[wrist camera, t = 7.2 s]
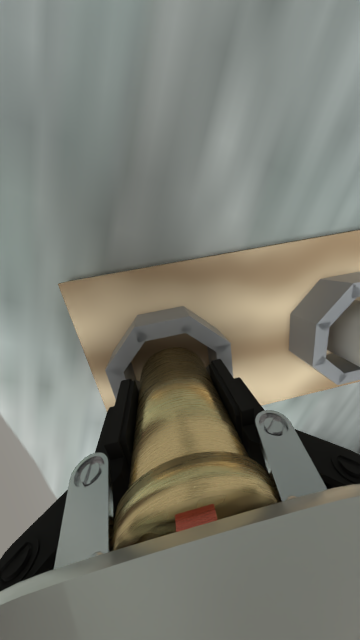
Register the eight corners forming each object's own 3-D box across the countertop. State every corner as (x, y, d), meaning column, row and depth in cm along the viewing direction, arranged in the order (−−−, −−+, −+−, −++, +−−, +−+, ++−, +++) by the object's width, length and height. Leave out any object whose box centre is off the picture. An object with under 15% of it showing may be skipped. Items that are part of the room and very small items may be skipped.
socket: (103, 321, 13) (92, 335, 10) (214, 299, 13) (227, 308, 11) (132, 409, 15) (128, 436, 13) (223, 388, 16) (235, 410, 14)
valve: (127, 352, 11) (63, 580, 3) (205, 335, 12) (320, 504, 4) (148, 422, 13) (140, 676, 5) (214, 407, 14) (302, 619, 6)
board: (68, 281, 13) (57, 283, 12) (372, 227, 15) (394, 224, 13) (121, 426, 18) (118, 440, 16) (347, 371, 20) (362, 380, 18)
